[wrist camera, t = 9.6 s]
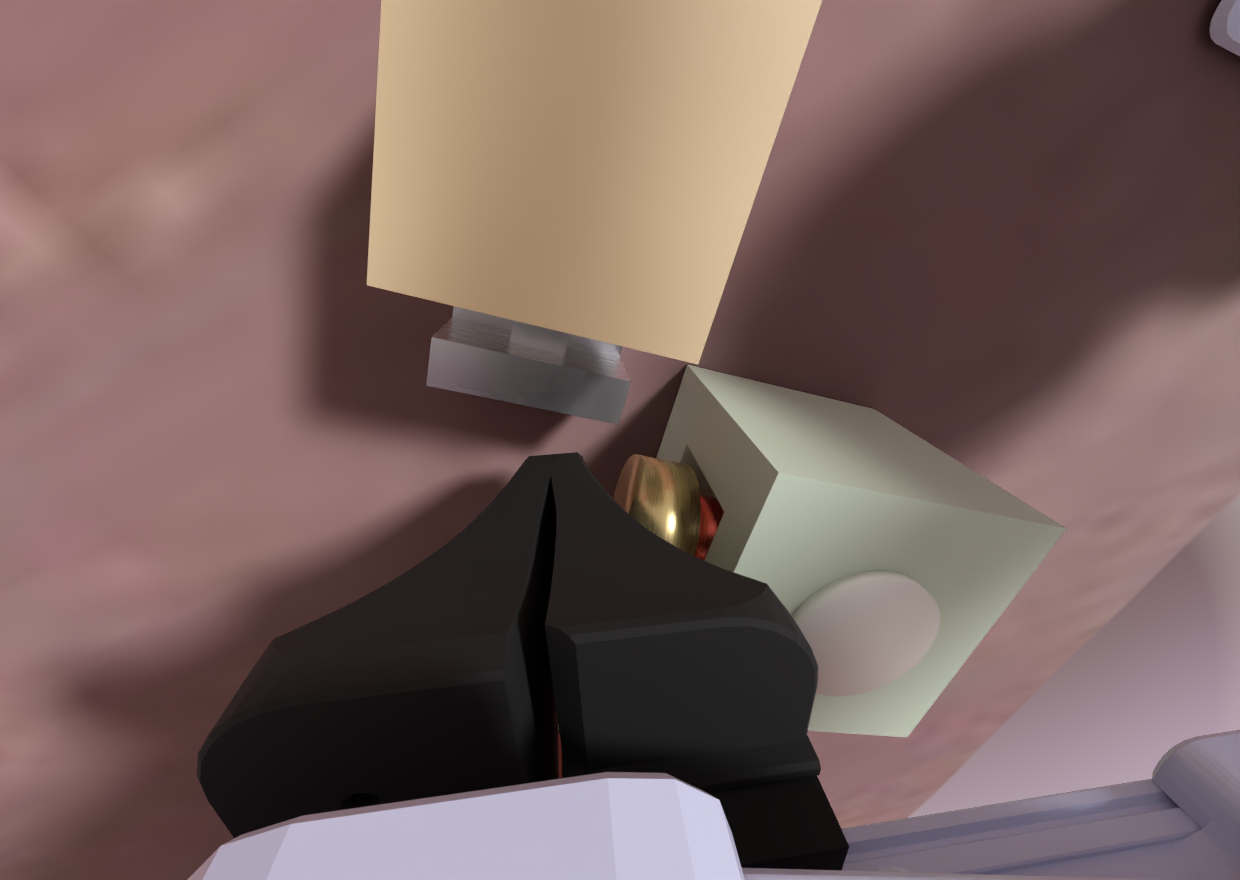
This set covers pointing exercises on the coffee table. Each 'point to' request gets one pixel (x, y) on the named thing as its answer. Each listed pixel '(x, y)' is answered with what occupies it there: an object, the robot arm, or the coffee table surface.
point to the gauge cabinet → (856, 539)
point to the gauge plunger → (669, 503)
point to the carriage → (577, 156)
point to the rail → (528, 366)
